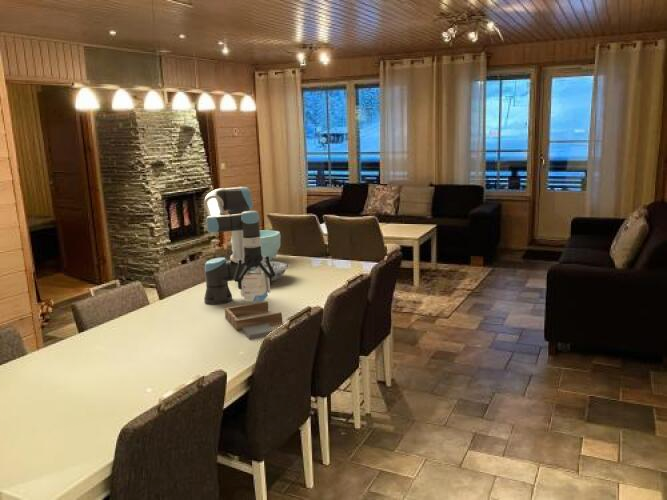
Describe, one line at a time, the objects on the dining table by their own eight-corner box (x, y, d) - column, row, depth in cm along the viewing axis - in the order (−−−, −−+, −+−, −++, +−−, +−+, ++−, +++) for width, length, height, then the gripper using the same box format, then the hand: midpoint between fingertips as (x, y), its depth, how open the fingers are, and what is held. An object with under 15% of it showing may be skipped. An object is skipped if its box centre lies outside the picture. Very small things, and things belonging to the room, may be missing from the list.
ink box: (268, 296, 257) (266, 267, 254) (262, 301, 249) (260, 271, 246) (250, 296, 259) (248, 267, 256) (243, 301, 251) (241, 271, 248)
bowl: (238, 260, 415) (235, 231, 411) (285, 258, 414) (283, 229, 409) (227, 271, 381) (225, 239, 376) (279, 269, 379) (277, 237, 375)
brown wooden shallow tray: (225, 317, 281) (224, 308, 280) (267, 310, 290) (267, 301, 289) (237, 331, 261) (236, 320, 260) (282, 323, 269) (281, 313, 268)
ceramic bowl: (301, 277, 356) (300, 262, 354) (266, 291, 327) (265, 274, 325) (259, 272, 374) (258, 257, 372) (222, 285, 346) (221, 269, 344)
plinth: (242, 331, 260) (241, 327, 260) (267, 326, 265) (266, 322, 264) (249, 339, 249) (249, 335, 249) (275, 334, 254) (275, 330, 254)
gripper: (227, 250, 241) (231, 300, 245) (280, 244, 250) (283, 291, 255) (223, 248, 248) (227, 295, 252) (275, 241, 257) (278, 288, 262)
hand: (255, 293), depth 253 cm, fingers closed on ink box, 11 cm apart
